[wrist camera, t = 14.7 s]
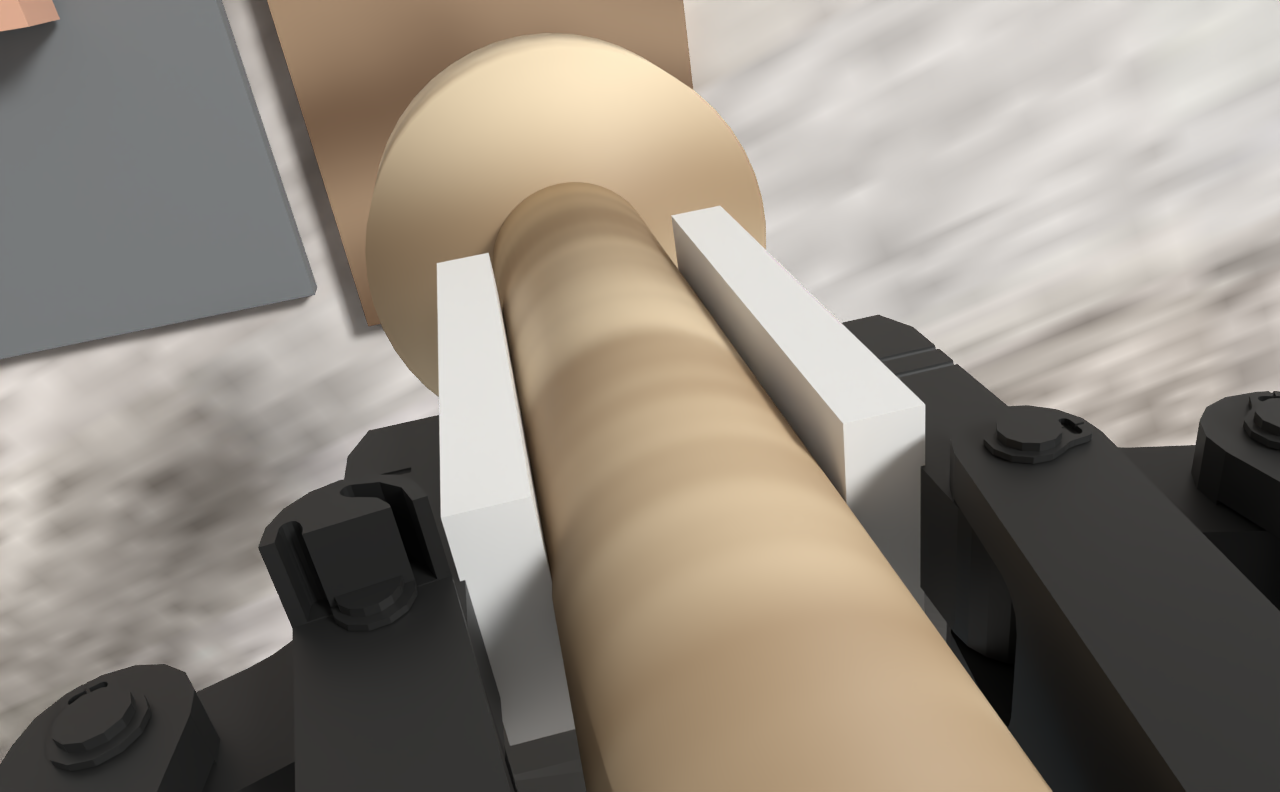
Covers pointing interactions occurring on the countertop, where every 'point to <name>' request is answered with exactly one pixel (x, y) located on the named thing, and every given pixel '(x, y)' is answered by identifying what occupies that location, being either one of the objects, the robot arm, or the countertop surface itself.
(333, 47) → the board
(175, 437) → the countertop surface
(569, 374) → the masher
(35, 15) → the tile
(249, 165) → the mat
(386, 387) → the countertop surface
